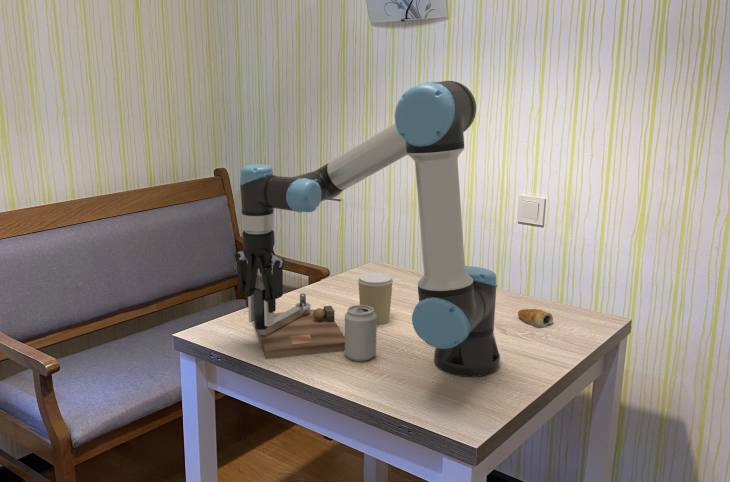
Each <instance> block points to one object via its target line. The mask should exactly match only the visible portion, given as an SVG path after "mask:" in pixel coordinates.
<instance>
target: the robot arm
mask: <svg viewBox="0 0 730 482" xmlns="http://www.w3.org/2000/svg"><path fill="white" fill-rule="evenodd" d="M476 114H477V102H476V98H475V96H474V94H473V92H472V91H471V90H470V89H469V88H468V87H467V86H466V85H465V84H462V83H460V82H459V81H454V80H443V81H432V82H431V81H427V82H423V83H420V84H417V85H414V86H412V87H410V88H409V89H408V90H406V91H405V92H404V93H403V94H402V95H401V97H400V98H399V100H398V102H397V104H396V106H395V111H394V124H391V125H390V126H387V127H386V128H384V129H383V130H382V131H380V132H378V133H377V134H375V135H373V136H372V137H370V138H368V139H366V140H365V141H363V142H361V143H360V144H358V145H356V146H354V147H353V148H351V149H349V150H348V151H346V152H344V153H343V154H341V155H339V156H338V157H336V158H334V159H333V160H331V161H329V162H328V163H327V164H324V165H322V166H320V167H319V168H318V169H316V170H313V171H310V172H307V173H302V174H299V175H296V176H279V175H274V172H273V171H274V169H273V167H272V166H271V165H270V164H269V165H268V164H260V163H258V164H257V163H256V164H247V165H244V166H242V167H241V169H240V177H239V179H240V182H239V183H240V184H239V187H240V199H241V200H240V201H241V229H242V230H243V231H242V233H241V234H242V246H243V248H244V249H243V250H241V251H238V252H236V253H234V255H233V256H234V259H235V261H236V271H237V284H238V292H239V293H243V294H244V295H245V303H246V304H245V306H246V308H247V309H248V322H250V323H252V322H253V323H254V321H255V316H254V288H255V287H256V283H257V278H258V270H259V274H261V279H262V283H263V287H264V288H265V293H266V298H267V299H265V300H264V319H265V326H268V325H270V324H272V323H274V313H276V310H277V308H276V307H277V306H276V305H277V304H276V300H277V299H280V298H281V297H283V292H284V291H283V289H284V287H283V284H284V283H283V282H284V281H283V279H284V278H283V275H284V274H283V272H284V271H283V270H284V269H283V268H284V264H285V261H286V260H285V259H284V257H281V258H279V257H277V256H276V253H275V251H274V246H275V231H274V228H275V220H274V218H275V217H274V216H275V215H274V211H275V210H274V209H278V210H283V211H284V210H285V211H291V212H296V213H313V212H315V210H316V209H317V208H318V207H319V205H320V203H322V202H323V201H327V200H331V199H334V198H336V197H337V196H339V195H340V194H341V193H342V192H343V191H345V190H347V189H348V188H350V187H352V186H354V185H355V184H358V183H359V182H361V181H363V180H365V179H367V178H368V177H370V176H372V175H374V174H375V173H377V172H379V171H381V170H383V169H384V168H386V167H389V165H392V164H394V163H395V162H398V161H400V160H401V159H402V158H405V157H406V156H409V158H411V159H412V160H413V161H414V165H415V166H414V167H415V179H416V191H417V202H418V204H417V205H418V217H419V227H420V241H421V253H422V254H421V255H422V264H423V265H422V266H423V275H422V276H421V278H420V279H419V280H418V281H417V293H418V303H417V304H416V305H415V307H414V308H413V312H412V314H411V322H412V327H413V329H414V331H415V333H416V335H417V336H418V338H419V339H421V340H423V342H425V344H427V345H428V346H431V347H433V348H435V349H434V354H433V356H434V357H433V362H434V365H435V367H437V368H438V369H439V370H441V371H443V372H446V373H447V374H451V375H455V376H460V377H468V378H469V377H484V376H488V375H490V374H493V373H495V372H496V371H498V369H499V368H500V364H501V363H500V361H501V360H500V359H501V356H500V353H499V352H500V351H499V349H498V345H497V341H496V337H495V334H494V331H495V329H494V328H495V314H496V298H497V288H498V284H497V275H496V273H495V272H494V271H493V270H491V269H488V268H485V267H484V268H483V267H480V266H473V265H472V266H471V265H466V264H465V263H466V262H465V261H466V260H465V250H464V249H465V248H464V236H463V221H462V205H461V204H462V203H461V192H460V190H461V188H460V179H459V177H460V175H459V159H458V158H459V156H460V155H461V153H462V152H463V151H464V150H465V136H464V135H465V132H466V131H468V129H469V128H470V127H471V125H472V124H473V122H474V120H475V119H476Z"/></svg>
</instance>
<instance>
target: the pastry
mask: <svg viewBox="0 0 730 482" xmlns="http://www.w3.org/2000/svg"><path fill="white" fill-rule="evenodd" d="M517 316H518V318H519V319H520V320H522V322H524V323H525V324H528V325H530V326H532V327H534V328H539V329H540V328H545V327H547V326H548V325H551V324H552V323H553V321H554V317H553V315H552V313H551V312H548V311H545V310H543V309H539V308H538V309H536V308H530V309H529V308H523V309H520V310H518V312H517Z"/></svg>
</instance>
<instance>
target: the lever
mask: <svg viewBox="0 0 730 482" xmlns="http://www.w3.org/2000/svg"><path fill="white" fill-rule="evenodd" d="M253 294H254V316H255V324H254V329H258V333H257V335H258V334H261V335H265V336H266V335H268V334H270V333H271V332H273V331H275V330H277V329H279V328H281V327H282V326H284V325H286V324H288V323H290V322H291V321H293V320H295V319H297V318H299V317H301V316H302V315H307V314H309V313H310V312H311V310H312V309H311V303H308V302H307V298H306V297H307V295H306V293H300V294H299V303H296V304H295V306H293V307H292V308H290V309H287V310H286V311H283V312H284V313H282V312H281V313H282V314H280V315H278V316H276V317H274V323H272V324H270V325H268V326H265V319H264V300H265V299H267V298H266V293H265V288H264V286H255V288H254V293H253Z"/></svg>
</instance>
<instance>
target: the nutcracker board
mask: <svg viewBox="0 0 730 482" xmlns="http://www.w3.org/2000/svg"><path fill="white" fill-rule="evenodd" d="M310 310H311V312H310V313H309V314H307V315H302V316H301V317H299V318H297V319H295V320H293V321H291V322H290V323H288V324H286V325H284V326H282V327H281V328H279V329H277V330H275V331H273V332H271V333H270V334H268V335H266V336H265V335H261V334H258V329H256V333H257V336H258V339H259V342H260V345H261V349H262V351H263V354H264V358H265V359H266V360H268V359H275V358H276V359H277V358H286V357H295V356H304V355H305V356H306V355H315V354H323V353H325V354H326V353H334V352H343V351H344V352H345V334H344V333H343V331H342V329H341V328H340V327H339V326H338V324H337V322H336V321H335V309H334V308H333V307H332V305H323V308H319V307H318V308H316V309H310ZM284 312H285V311H283V312H274V317H276V316H278V315H280V314H282V313H284ZM253 324H254V325H255V321H253Z"/></svg>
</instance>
